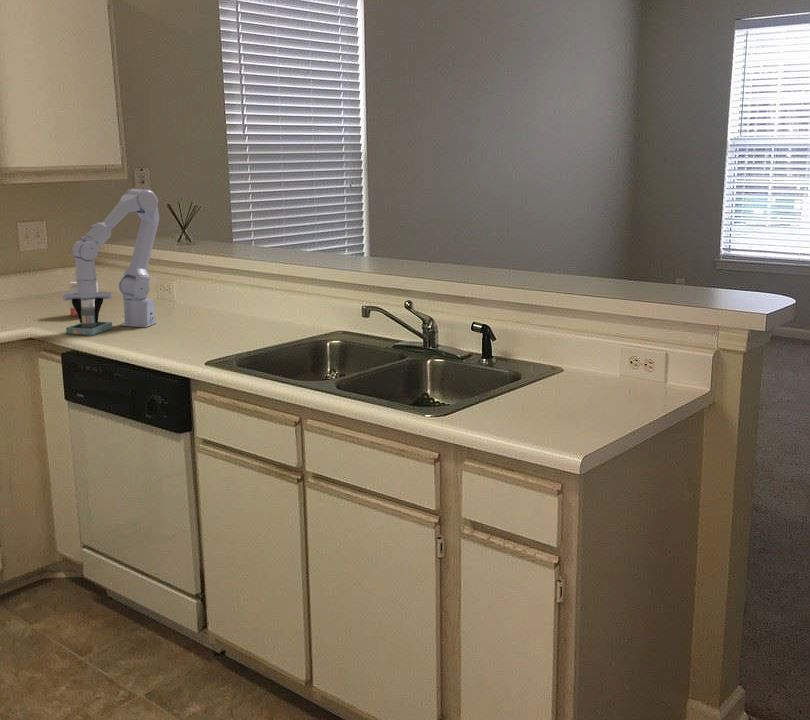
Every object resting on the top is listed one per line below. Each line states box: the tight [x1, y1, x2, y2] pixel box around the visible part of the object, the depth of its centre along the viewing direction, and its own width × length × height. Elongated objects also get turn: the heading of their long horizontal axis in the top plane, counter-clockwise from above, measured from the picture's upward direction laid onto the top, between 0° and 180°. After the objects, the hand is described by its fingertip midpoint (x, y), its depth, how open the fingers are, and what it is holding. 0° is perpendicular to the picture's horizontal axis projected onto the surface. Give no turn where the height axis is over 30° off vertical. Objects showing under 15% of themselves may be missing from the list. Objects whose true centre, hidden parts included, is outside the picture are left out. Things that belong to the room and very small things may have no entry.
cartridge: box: [81, 307, 97, 329], centre depth 287 cm, size 4×7×6 cm, turn 15°
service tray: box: [65, 321, 113, 337], centre depth 288 cm, size 9×12×2 cm
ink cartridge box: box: [68, 271, 100, 317], centre depth 312 cm, size 9×5×15 cm, turn 84°
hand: (89, 322), depth 288 cm, fingers closed on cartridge, 4 cm apart
